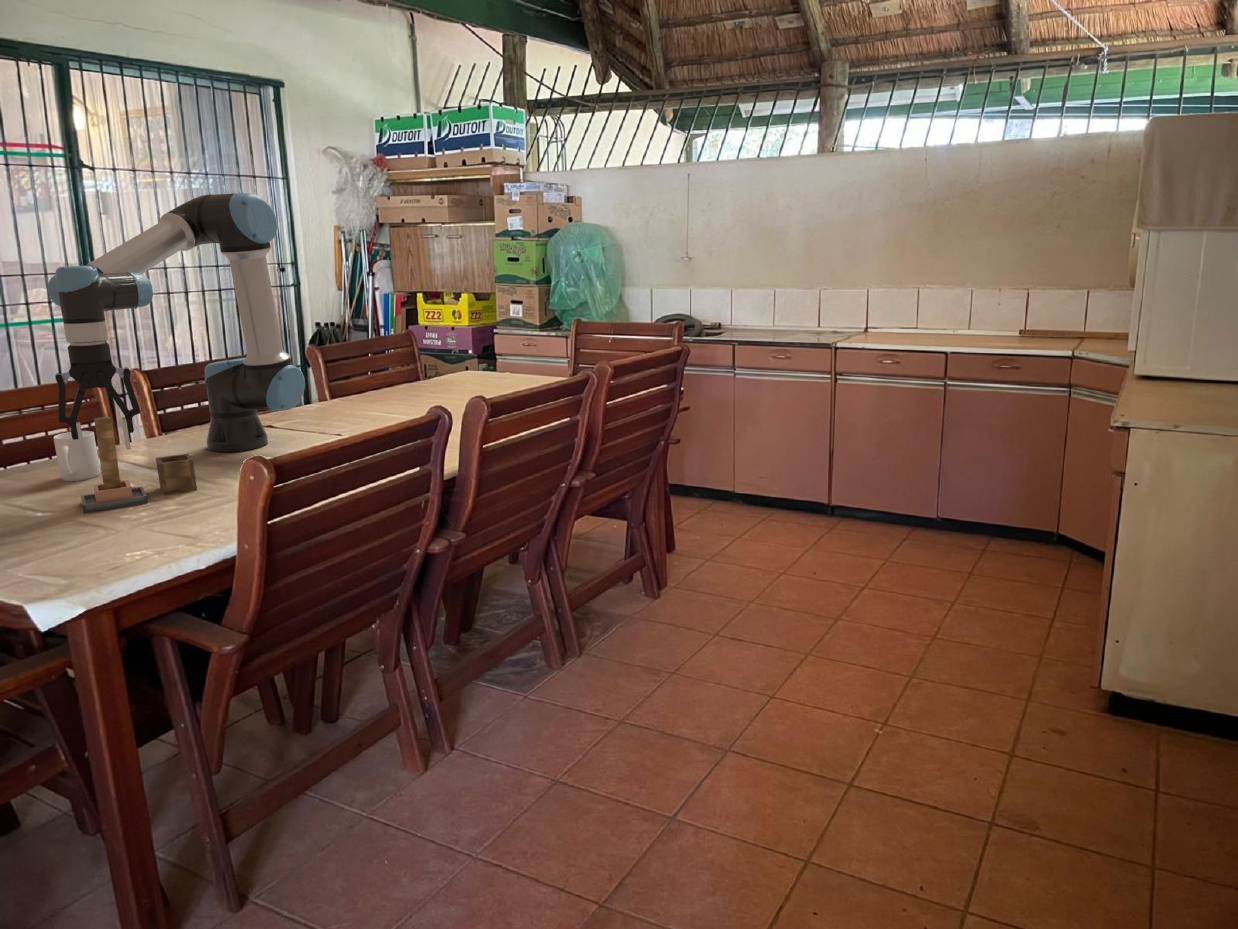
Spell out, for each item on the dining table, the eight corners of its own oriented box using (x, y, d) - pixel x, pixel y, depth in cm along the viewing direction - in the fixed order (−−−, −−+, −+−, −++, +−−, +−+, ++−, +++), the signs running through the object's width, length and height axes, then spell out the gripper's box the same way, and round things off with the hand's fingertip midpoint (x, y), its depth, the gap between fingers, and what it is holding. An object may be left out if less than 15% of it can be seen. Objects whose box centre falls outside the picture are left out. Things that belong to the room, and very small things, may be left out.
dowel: (121, 493, 199) (111, 416, 195) (122, 497, 197) (112, 419, 193) (104, 495, 198) (93, 418, 194) (105, 499, 195) (94, 420, 191)
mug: (85, 484, 213) (77, 441, 210) (47, 486, 212) (39, 443, 209) (106, 471, 224) (99, 430, 221) (70, 473, 223) (62, 431, 220)
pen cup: (192, 482, 212) (188, 453, 210) (197, 489, 206) (192, 459, 205) (160, 487, 209) (155, 457, 207) (163, 494, 203) (159, 464, 201)
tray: (143, 493, 204) (142, 486, 204) (147, 503, 197) (146, 496, 197) (81, 502, 198) (80, 495, 198) (83, 513, 191) (82, 505, 191)
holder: (130, 493, 202) (128, 479, 201) (133, 500, 196) (131, 486, 196) (95, 498, 199) (93, 484, 198) (97, 506, 193) (94, 492, 192)
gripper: (142, 337, 197) (157, 441, 203) (29, 345, 187) (49, 454, 193) (145, 340, 191) (161, 447, 197) (29, 349, 181) (49, 461, 186)
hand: (106, 450), depth 195 cm, fingers open, 8 cm apart
